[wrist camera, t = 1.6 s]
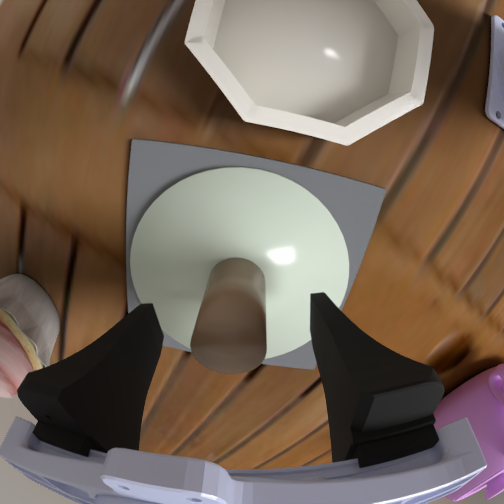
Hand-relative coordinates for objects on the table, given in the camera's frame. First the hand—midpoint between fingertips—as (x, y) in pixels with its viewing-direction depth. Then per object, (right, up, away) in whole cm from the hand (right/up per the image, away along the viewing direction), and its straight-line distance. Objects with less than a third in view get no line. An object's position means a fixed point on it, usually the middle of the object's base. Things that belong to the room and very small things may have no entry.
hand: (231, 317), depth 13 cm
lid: (0, +2, +3) cm, 4 cm away
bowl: (+4, +13, -2) cm, 14 cm away
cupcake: (-17, -1, +6) cm, 18 cm away
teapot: (+28, -14, +11) cm, 34 cm away
